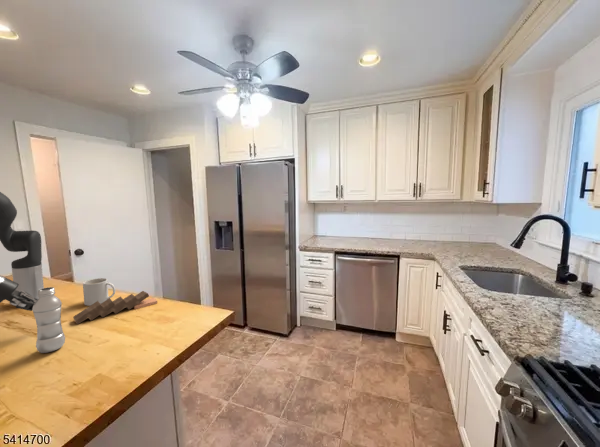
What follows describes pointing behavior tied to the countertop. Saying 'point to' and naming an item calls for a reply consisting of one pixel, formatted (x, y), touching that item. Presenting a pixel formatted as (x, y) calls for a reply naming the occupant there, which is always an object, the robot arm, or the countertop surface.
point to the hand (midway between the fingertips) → (48, 311)
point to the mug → (96, 291)
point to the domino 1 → (87, 312)
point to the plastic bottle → (48, 321)
